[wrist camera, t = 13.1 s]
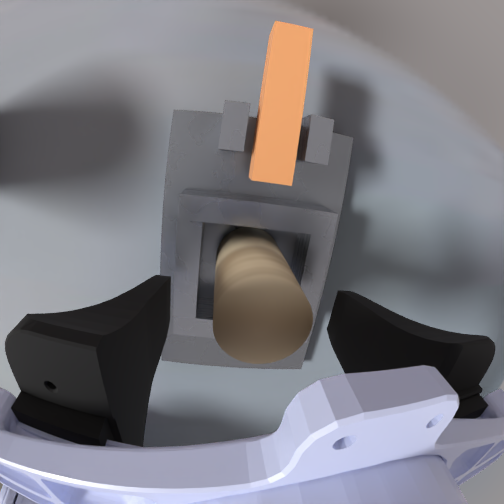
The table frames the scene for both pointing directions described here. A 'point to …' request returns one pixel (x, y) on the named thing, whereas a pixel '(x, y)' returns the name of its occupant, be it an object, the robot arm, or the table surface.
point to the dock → (243, 218)
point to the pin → (281, 104)
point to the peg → (257, 299)
